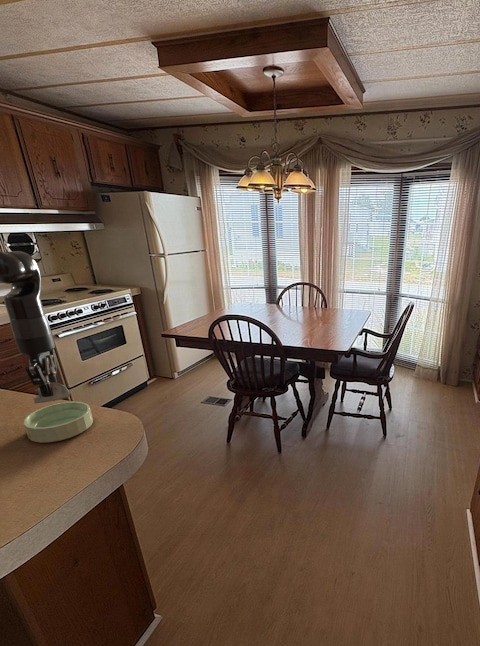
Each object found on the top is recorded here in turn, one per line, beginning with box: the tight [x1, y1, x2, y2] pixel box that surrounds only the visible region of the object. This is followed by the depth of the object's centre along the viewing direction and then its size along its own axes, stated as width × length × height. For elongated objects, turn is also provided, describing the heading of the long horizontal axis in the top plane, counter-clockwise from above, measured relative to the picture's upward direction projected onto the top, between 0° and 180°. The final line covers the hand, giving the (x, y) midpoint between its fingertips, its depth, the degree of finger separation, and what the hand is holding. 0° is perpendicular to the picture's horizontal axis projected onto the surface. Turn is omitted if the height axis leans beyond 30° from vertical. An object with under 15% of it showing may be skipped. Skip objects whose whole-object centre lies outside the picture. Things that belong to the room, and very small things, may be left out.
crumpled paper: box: [32, 382, 71, 404], centre depth 94 cm, size 4×8×7 cm, turn 127°
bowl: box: [23, 401, 94, 443], centre depth 98 cm, size 15×15×5 cm
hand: (50, 391), depth 95 cm, fingers closed on crumpled paper, 4 cm apart
